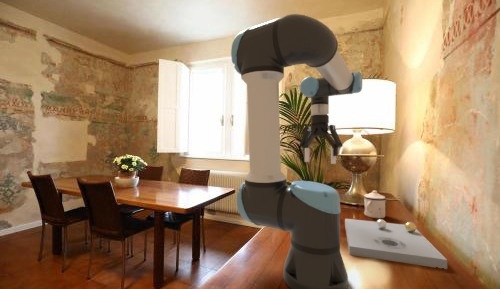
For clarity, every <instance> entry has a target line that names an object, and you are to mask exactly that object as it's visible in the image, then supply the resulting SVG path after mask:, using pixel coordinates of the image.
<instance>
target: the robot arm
mask: <svg viewBox="0 0 500 289" xmlns="http://www.w3.org/2000/svg"><path fill="white" fill-rule="evenodd" d="M338 48H339V42H338V38H336V35H335V34H334V32H333V30H332V29H331V28H329V27H328V25H326V24H325V23H323V22H322V21H320V20H318V19H315V18H314V17H311V16H308V15H305V14H299V13H292V14H291V13H290V14H286V15H284V16H281V17H278V18H275V19H272V20H269V21H267V22H264V23H261V24H258V25H252V26H249V27H247V28H246V29H244V30H242V31H239V33H237V35H236V36H235V37H234V39H233V40H232V45H231V50H230V55H231V62H232V64H233V65H234V66H233V68H234V69H235V70H236V72H237V73H238V74H239V75H240V78H241V81H243V82H244V83H245V84H246V90H247V92H246V93H247V95H246V96H247V123H248V124H247V126H248V154H249V156H248V157H249V158H248V159H249V172H248V173H247V174H246V175H245V177H244V181H243V182H242V183H241V184H240V185H239V187H238V191H237V193H236V206H237V207H236V208H237V210H238V214H239V215H240V217H241V218H242V219H243V220H245V221H246V222H248V223H251V224H253V225H256V226H257V227H258V226H260V227H266V228H271V229H275V230H280V231H283V232H287V233H290V247H289V249H288V252H287V255H286V257H285V258H286V259H285V261H284V264H283V274H282V275H283V280H284V283H285V284H286V285H287V286H288V287H289V288H291V289H348V286H349V276H348V272H347V268H346V266H345V262H344V259H343V257H342V253H341V212H342V208H341V198H340V194H339V191H338V190H336V189H335V188H334V187H332V186H329V185H328V184H325V183H320V182H316V181H309V180H293V181H292V182H291V184H290V185H289V184H287V180H288V179H287V175H285V174H284V173H283V171H282V169H281V168H282V165H281V164H282V162H281V132H280V131H281V130H280V129H281V128H280V126H281V123H280V120H281V119H280V92H279V85H280V82H281V81H282V79H283V78H284V77H285V68H287V67H292V66H297V65H306V66H307V67H309V68H313V69H315V70H316V71H317V73H319V74H320V75H321V76H322V77H318V78H317V77H314V76H307V77H305V78H304V79H302V80H301V81H300V85H299V90H300V92H301V94H302V95H304V96H305V97H306V98H309V99H310V115H311V116H310V124H311V126H305V130H304V134H303V136H302V138H301V141H300V143H299V146H300V147H302V149H303V156H304V163H310V155H311V154H310V151H311V150H310V145H311V144H312V142H313V141H314V140H315V138H316V137H324V138H325V139H326V141H327V142H328V143H329V145H330V146H331V148H330V164H332V165H336V164H337V156H338V155H339V152H338V151H339V148H341V147H343V143H342V141H341V138H340V136H339V135H338V132H337V130H336V125H335V124H329V120H330V118H329V113H330V112H329V111H330V110H329V109H330V108H329V102H330V101H329V98H330V97H333V96H341V95H342V96H343V95H352V94H357V93H360V92H361V91H362V90H363V75H362V73H361V72H360V71H356V72H355V71H352V72H351V70H350V68H349V67H348V65H347V63H346V62H345V60H344V58H343V56H342V55H341V53H340V51H339V50H338ZM329 131H330V133H329Z"/></svg>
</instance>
